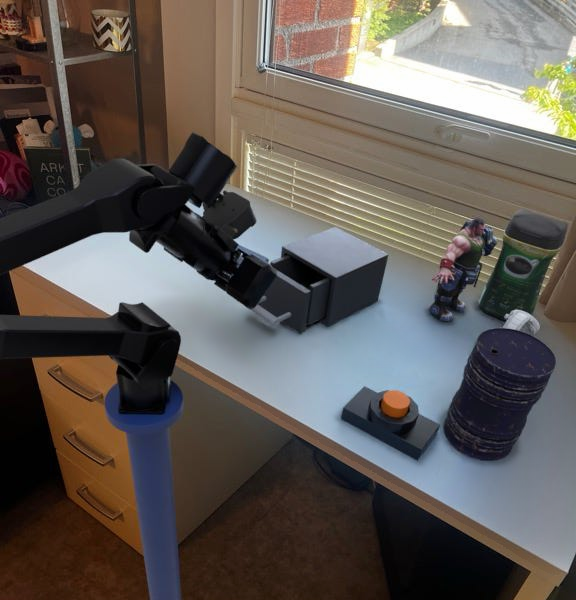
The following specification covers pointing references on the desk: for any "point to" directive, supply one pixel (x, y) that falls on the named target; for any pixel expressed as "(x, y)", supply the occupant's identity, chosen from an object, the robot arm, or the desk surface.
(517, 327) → the watch
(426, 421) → the button panel
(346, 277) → the black drawer cabinet
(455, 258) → the action figure
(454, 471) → the desk surface
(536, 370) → the navy cylinder
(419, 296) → the desk surface
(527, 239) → the coffee jar
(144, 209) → the robot arm
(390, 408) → the button
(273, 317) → the open black drawer
